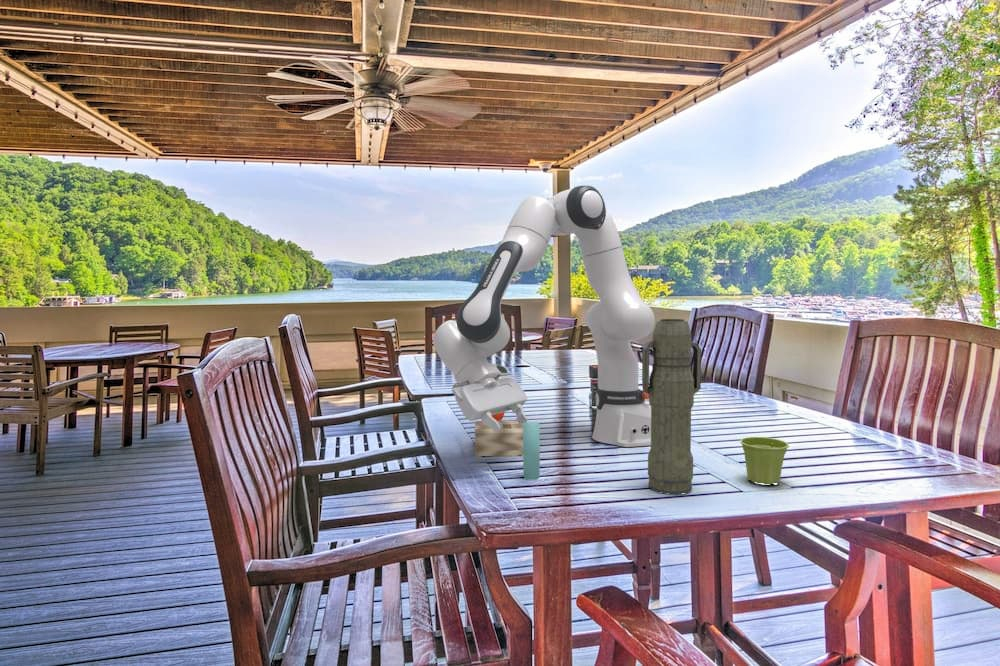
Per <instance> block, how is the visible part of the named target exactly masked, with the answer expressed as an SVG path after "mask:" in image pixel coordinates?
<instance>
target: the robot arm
mask: <svg viewBox="0 0 1000 666" xmlns="http://www.w3.org/2000/svg"><path fill="white" fill-rule="evenodd" d="M617 228H618V227H617V226H616V223H615V221H614V219H613V217H612V215H611V214H610V213H609V212H608V211H607V209H606V204H605V201H604V198H603V196H602V195H601V193H600V191H599V190H598V189H596V187H594V186H592V185H578V186H575V187H573V188H569V189H565V190H562V191H560V192H558V193H557V194H555V195H553V196H551V197H549V198H545V197H543V196H538V195H532V196H531V195H530V196H528V197H526V198H524V200H523V201H522V202H521V203H520V205H519V206H518V207H517V209H516V211H515V213H514V214H513V216H512V218H511V220H510V221H509V223H508V226H507V228H506V231H505V233H504V235H503V238H502V240H501V241H500V244H499V246H498V247H497V249H496V251H494V253H493V256H492V257H491V259H490V261H489V262H488V265H487V266H486V268H485V271H484V272H483V274H482V276H481V278H480V280H479V282H478V284H477V286H476V288H475V289H474V291H473V292H472V293H471V294H470V295H469V297H468V298H466V299H465V301H463V303H462V304H461V305H460V307H459V308H458V310H457V314H456V317H455V320H454V319H449V320H446V321H445V322H443V323H441V324H440V325H439V326H438V327H437V328H436V329H435V332H434V334H433V337H432V343H433V347H434V350H435V351H436V354H437V355H438V357H439V358H440V360H441V362H443V364H444V366H445V367H446V368H447V369H448V370H449V371H450V372H451V373H452V374H453V377H454V379H455V381H456V383H453V384H452V387H451V392H452V394H453V396H454V398H455V401H456V405H458V407H459V409H460V412H461V413H462V415H463V416H464V418H465V419H467V420H468V421H470V422H472V421H473V422H474V421H478V420H480V421H483V422H484V423H485V424H487V425H488V426H490V427H491V428H492V429H493V430H494V432H499V431H501V430H502V429H503V425H502V424H501V422H500V421H496V420H495V419H494V418H493V417H492V415H495V414H499V413H503V412H504V413H507V412H509V411H512V413H513V414H515V415H516V418H515V420H517V422H518V423H519V424H520V425H521V424H523V423H525V422H528V418H527V417H526V415H525V412H524V409H523V405H524V404H525V403H526V402H527V401H528V399H527V394H526V392H525V391H524V389H523V387H522V386H521V385H520V384H519V383H518V381H517V380H516V379H515V378H514V377H513V376H511V374H510V373H511V371H510V369H508V367H507V366H504V365H499V364H495V363H493V362H489V361H488V358H490V357H492V356H493V355H496V354H498V353H499V352H501V351H502V350H504V349H505V348H506V346H508V344H509V341H510V340H511V328H510V327H509V324H508V323H507V321H506V319H505V318H504V316H503V314H502V311H501V309H502V308H501V304H502V300H503V298H504V296H505V294H506V291H507V289H508V287H509V285H510V283H511V281H512V279H513V277H514V276H515V274H516V273H518V272H522V273H524V272H529V271H532V270H534V269H535V268H537V267H538V265H539V264H540V263H541V260H542V259H543V257H544V255H545V252H546V251H547V248H548V246H549V243H550V240H551V238H557V237H561V236H567V235H571V234H574V236H575V237H576V238H577V239H578V242H579V247H580V253H581V257H582V262H583V266H584V269H585V270H584V271H585V274H586V276H587V281H588V285H589V286H590V287H591V288H592V289H593V291H594V292H595V293H596V295H597V297H598V299H599V301H598V302H596V303H594V304H592V305H591V306H590V307H589V308H588V310H587V312H586V315H585V320H586V325H587V328H589V330H590V332H591V336H592V339H593V343H594V347H595V353H596V358H597V387H596V393H595V406H596V415H595V417H596V418H595V423H594V427H593V433H592V435H591V439H592V440H594V441H595V442H599V443H604V444H609V445H615V446H619V447H622V448H630V447H631V448H632V447H645V446H646V447H647V446H651V406H650V404H648V403H646V402H645V401H647V400H648V401H649V394H648V393H645V392H643V389H640V388H639V361H638V358H637V357H636V355H635V354H634V350H633V347H632V344H631V341H637V340H639V339H640V340H641V339H643V338H645V337H647V336H649V334H650V333H651V332H652V331H653V330H654V328H655V320H656V319H655V315H654V311H653V310H652V308H651V307H650V306H649V305H648V304H647V303H646V302H645V301H644V300H643V298H642V297H641V295H640V294H639V293H640V292H639V291H638V289H637V287H636V285H635V283H634V281H633V279H632V277H631V274H630V272H629V269H628V264H627V261H626V256H625V253H624V249H623V245H622V240H621V238H620V234H619V231H618V229H617Z"/></svg>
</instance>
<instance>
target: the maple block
mask: <svg viewBox="0 0 1000 666" xmlns="http://www.w3.org/2000/svg"><path fill="white" fill-rule="evenodd" d="M500 422H501V424H502V425H503V429H502V430H501V431H499V432H494V430H493V429H492V428H491V427H490V426H488V425H487V424H485V423H484V422H483V421H482V420H474V449H475V458H482V457H481V456H501V457H518V456H517V455H523V424H521V425H520V424H519V423H518V422H517V420H516V419H515V420H501V421H500Z"/></svg>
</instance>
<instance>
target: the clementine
mask: <svg viewBox="0 0 1000 666" xmlns="http://www.w3.org/2000/svg"><path fill="white" fill-rule="evenodd" d="M504 416H505V412H503V413H499V414H495V415H492V417H493V418H494V419H495V420H496V421H503V419H504Z"/></svg>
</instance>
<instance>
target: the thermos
mask: <svg viewBox="0 0 1000 666" xmlns="http://www.w3.org/2000/svg"><path fill="white" fill-rule="evenodd" d="M692 337H693V336H692V332H691V328H690V324H689V323H688V321H687V320H686V321H685V319H683V318H682V319H681V318H680V319H678V318H677V319H676V318H675V319H674V318H661V319H660V320H657V321H656V324H655V325H654V328H653V332H652V341H651V340H650V341H649V342H646V343H645V344H644V345H643V347H642V353H641V354H642V355H641V356H642V357H641V358H642V360H641V361H642V363H641V364H642V365H641V367H642V368H641V372H642V373H641V374H642V376H641V377H642V378H641V382H642V383H641V384H642V385H641V386H642V391H643V392H645V393H648V394H649V400H648V403H649V406H650V407H651V445H650V450H649V451H648V452H649V453H648V455H647V475H648V488H649V487H650V488H651V489H652V491H653V490H655V491H657V492H656V493H658V492H662V493H669V494H682V493H687V494H689V493H688V492H690V491H691V490H693V486H692V480H693V478H694V457H693V454H692V451H691V446H692V445H691V442H692V439H691V437H692V408H693V406H694V405H695V404H694V403H695V401H694V400H695V396H694V395H696V394H697V393H698V392H699V391H700V390H701V389H702V388H701V386H702V385H701V383H702V382H701V381H702V380H701V379H702V377H701V376H702V374H701V373H702V349H701V347H700V346H699V345H698V343H696V342H693V341H692ZM651 348H652V359H653V363H652V366H651V367H652V368H651V372H650V350H651ZM692 350H693V352H692ZM692 353H693V356H692ZM692 358H693V359H692ZM691 359H692V361H693V362H692V364H691ZM650 488H649V489H650ZM651 489H650V490H651ZM655 491H654V492H655ZM691 492H692V491H691ZM691 492H690V493H691ZM662 493H661V494H662ZM669 494H668V495H669Z"/></svg>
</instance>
